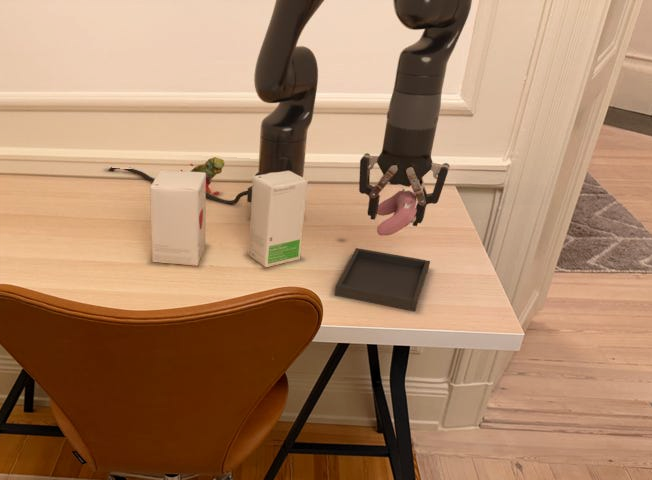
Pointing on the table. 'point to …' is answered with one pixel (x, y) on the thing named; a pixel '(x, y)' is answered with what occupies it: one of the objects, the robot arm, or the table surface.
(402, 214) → the video game controller
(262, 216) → the cosmetic box
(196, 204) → the rectangular carton
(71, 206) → the table surface
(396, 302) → the tray
